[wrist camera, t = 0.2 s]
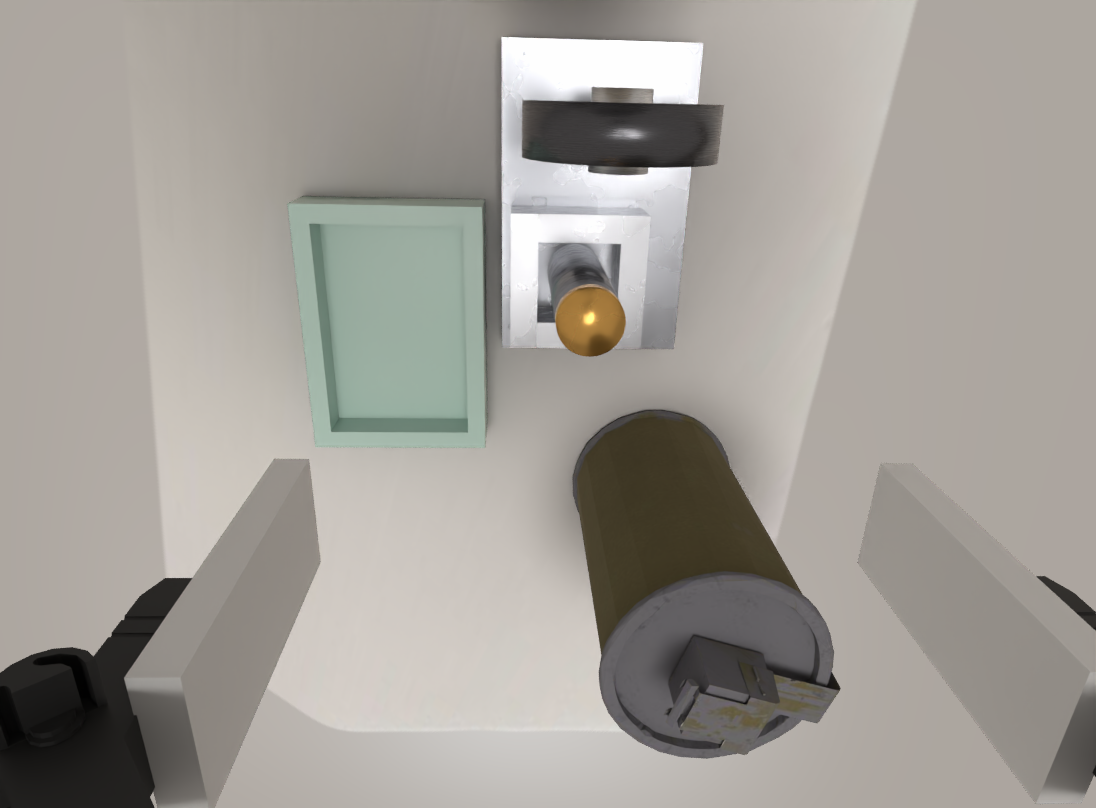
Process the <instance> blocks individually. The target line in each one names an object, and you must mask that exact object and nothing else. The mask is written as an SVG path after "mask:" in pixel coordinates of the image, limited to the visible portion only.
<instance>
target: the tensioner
mask: <svg viewBox="0 0 1096 808" xmlns="http://www.w3.org/2000/svg"><path fill="white" fill-rule="evenodd" d="M702 53H703V43H686V42H652V41H618V40H584V39H551V38H517V37H502V347H510V348H566V347H565V346H564V345H563V343H562V342H561V340H560V339H559V337H558V334H557V330H556V324H555V318H554V312H553V306H552V300H551V294H550V287H549V281H548V275H547V267H548V263H549V260H550V258H551V257H552V255H553V254H554V253H555V252H556V251H557V250H558V249H560V248H561V247H563V246H566V245H569V244H580V245H584V246H586V247H588V248H590V249H591V250H592V251H593V252H594V253H595V254H596V255H597V257H598V259H599V261H600V263H601V265H602V267H603V269H604V271H605V273H606V275H607V277H608V279H609V281H610V283H611V285H612V287H613V289H614V291H615V293H616V295H617V297H618V299H619V301H620V303H621V305H622V307H623V310H624V312H625V317H626V326H625V331H624V334H623V336H622V338H621V340H620V341H619V342H618V344H617V345H616V346H615V347H614V348H612V349H674V340H675V330H676V320H677V309H678V299H679V289H680V279H681V268H682V258H683V248H684V238H685V227H686V217H687V207H688V197H689V187H690V176H691V167H698V166H708V165H714V164H717V162H718V153H719V144H720V135H721V126H722V117H723V108H724V105H703V104H698V94H699V84H700V74H701V64H702Z"/></svg>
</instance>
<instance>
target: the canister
mask: <svg viewBox="0 0 1096 808" xmlns="http://www.w3.org/2000/svg"><path fill="white" fill-rule="evenodd" d="M573 496H574V499H575V503H576V507H577V510H578V512H579V514H580V520H581V527H582V533H583V540H584V546H585V552H586V559H587V565H588V572H589V578H590V584H591V591H592V597H593V604H594V610H595V616H596V623H597V629H598V636H599V642H600V648H601V655H602V656H601V662H600V668H599V683H600V690H601V694H602V699H603V701H604V704H605V706H606V708H607V710H608V713H609V714H610V715H611V717H612V718H613V719H614V720H615V722H616V723H617V724H618V726H619V727H620V728H621V729H622V730H623V731H625V732H626V733H627V734H629V735H630V736H632V737H633V738H634V739H636V740H637V741H638V742H640V743H642V744H644V745H646V746H649V747H651V748H653V749H655V750H657V751H659V752H663V753H667V754H671V755H675V756H679V757H691V758H714V757H720V756H726V755H732V754H737V753H738V754H743V755H745V754H748V752H749V751H751V750H753V749H755V748H757V747H759V746H761V745H764V744H765V743H768V742H769V741H772V740H774V739H776V738H778V737H780V736H781V735H783V734H784V733H786V732H788V731H789V730H791V729H792V728H794V727H795V726H796V725H797V724H798V723H799V722H800V721H801V720H806V721H810V722H814V723H818V722H819V721H820V719H821V718H822V716H823V715H824V713H825V712H826V710H827V709H828V707H829V706H830V704H831V703H832V701H833V700H834V698H835V697H836V695H837V694H838V692H839V691H840V686H839V684H838V683H837V681H836V679H835V677H834V675H833V674H832V672H831V671H832V668H833V657H834V650H833V646H832V641H831V636H830V632H829V630H828V627H827V625H826V622H825V621H824V619H823V618H822V616H821V615H820V613H819V611H818V610H817V608H816V607H815V606H814V605H813V604H812V603H811V602H810V601H809V600H808V599H807V598H806V597H805V596H803V595H802V593H801V591H800V589H799V588H798V586H797V584H796V582H795V581H794V579H793V577H792V575H791V574H790V572H789V570H788V568H787V567H786V565H785V563H784V561H783V560H782V558H781V556H780V554H779V553H778V551H777V549H776V547H775V546H774V544H773V542H772V540H771V539H770V537H769V535H768V533H767V532H766V530H765V528H764V526H763V525H762V523H761V521H760V519H759V518H758V516H757V514H756V512H755V511H754V509H753V507H752V505H751V504H750V502H749V500H748V498H747V497H746V495H745V493H744V491H743V490H742V488H741V486H740V484H739V483H738V481H737V479H736V477H735V476H734V474H733V472H732V470H731V469H730V467H729V462H728V457H727V455H726V453H725V451H724V448H723V446H722V444H721V443H720V441H719V440H718V438H717V437H716V436H715V435H714V434H713V433H712V432H711V431H710V430H709V429H708V428H707V427H706V426H704V425H703V424H701V423H700V422H698V421H697V420H695V419H694V418H691V417H688V416H684V415H679V414H676V413H672V412H668V411H643V412H639V413H636V414H632V415H629V416H625V417H622V418H619V419H617V420H616V421H614V422H613V423H611V424H609V425H608V426H606V427H605V428H603V429H602V430H601V431H600V432H599V433H598V434H597V435H595V436H594V437H593V438H592V439H591V440H590V441H589V442H588V443H587V445H586V447H585V448H584V450H583V452H582V454H581V456H580V458H579V460H578V462H577V464H576V468H575V472H574V476H573Z"/></svg>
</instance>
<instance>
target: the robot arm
mask: <svg viewBox="0 0 1096 808" xmlns="http://www.w3.org/2000/svg"><path fill="white" fill-rule="evenodd" d="M320 562H321V561H320V552H319V543H318V534H317V526H316V517H315V508H314V499H313V490H312V481H311V472H310V463H309V459H274V460H273V462H272V463H271V464H270V466H269V467H268V469H267V470H266V472H265V473H264V475H263V476H262V478H261V479H260V480H259V482H258V483H257V485H256V486H255V488H254V489H253V491H252V492H251V494H250V495H249V497H248V498H247V499H246V501H245V502H244V504H243V505H242V507H241V508H240V510H239V511H238V513H237V514H236V515H235V517H234V518H233V520H232V521H231V523H230V524H229V526H228V527H227V529H226V530H225V531H224V533H223V534H222V536H221V537H220V539H219V540H218V542H217V543H216V545H215V546H214V548H213V549H212V550H211V552H210V553H209V555H208V556H207V558H206V559H205V561H204V562H203V564H202V565H201V566H200V568H199V569H198V571H197V572H196V574H195V575H194V577H193V578H165V579H163V580H162V581H161V582H159V583H158V584H156V585H155V586H153V587H152V588H151V589H149V590H148V591H146V592H145V593H144V594H142V595H141V596H140V597H139V598H138V599H137V601H136V602H135V603H134V605H133V606H132V607H131V608H130V610H129V611H128V612H127V614H126V615H125V619H124V620H121V622H120V623H119V624H118V626H117V627H116V628H115V629H114V631H113V632H112V636H111V637H109V638H107V640H106V641H105V642H104V644H103V645H102V646H101V648H100V649H99V650H98V652H97V653H96V654H95V655H94V657H93V656H92V655H91V654H90V653H89V652H88V651H86V650H81V649H77V648H73V647H71V648H60V649H59V648H58V649H51V650H47V651H44V652H40V653H37V654H33V655H30V656H29V657H26V658H25V659H22V660H20V661H18V662H16V663H14V664H12V665H10V666H9V667H8V668H6V669H5V670H4V671H2V672H1V673H0V808H154V805H153V803H152V801H151V799H150V796H151V794H152V792H154V796H155V800H156V804H157V808H215V806H216V803H217V801H218V799H219V796H220V794H221V792H222V790H223V787H224V785H225V783H226V780H227V778H228V775H229V773H230V771H231V769H232V766H233V764H234V762H235V759H236V757H237V755H238V752H239V750H240V748H241V745H242V743H243V741H244V738H245V736H246V734H247V731H248V729H249V727H250V725H251V722H252V720H253V718H254V715H255V713H256V710H257V708H258V706H259V704H260V701H261V699H262V697H263V694H264V692H265V690H266V687H267V685H268V683H269V681H270V678H271V676H272V674H273V671H274V669H275V667H276V664H277V662H278V660H279V657H280V655H281V653H282V650H283V648H284V646H285V643H286V641H287V639H288V636H289V634H290V632H291V629H292V627H293V625H294V623H295V620H296V618H297V616H298V613H299V611H300V609H301V606H302V604H303V602H304V599H305V597H306V595H307V592H308V590H309V588H310V585H311V583H312V581H313V578H314V576H315V574H316V571H317V569H318V567H319V565H320ZM858 564H859V565H860V566H861V568H862V569H863V571H864V572H865V573H866V575H867V576H868V577H869V578H870V580H871V581H872V583H873V584H874V585H875V587H876V588H877V590H878V591H879V592H880V594H881V595H882V596H883V598H884V599H885V600H886V602H887V603H888V604H889V606H890V607H891V609H892V610H893V611H894V612H895V614H896V615H897V617H898V618H899V619H900V621H901V622H902V623H903V625H904V626H905V627H906V629H907V630H908V632H909V633H910V634H911V636H912V637H913V638H914V640H915V641H916V642H917V644H918V645H919V646H920V648H921V649H922V650H923V652H924V653H925V654H926V656H927V657H928V659H929V660H930V661H931V662H932V664H933V665H934V667H935V668H936V669H937V671H938V672H939V673H940V675H941V676H942V678H943V679H944V680H945V681H946V683H947V684H948V686H949V687H950V688H951V690H952V691H953V692H954V694H955V695H956V696H957V698H958V699H959V701H960V702H961V703H962V704H963V706H964V707H965V709H966V710H967V711H968V713H969V714H970V715H971V717H972V718H973V719H974V721H975V722H976V724H977V725H978V726H979V728H980V729H981V730H982V732H983V733H984V734H985V736H986V737H987V738H988V740H989V741H990V742H991V744H992V745H993V747H994V748H995V749H996V751H997V752H998V753H999V754H1000V756H1001V757H1002V759H1003V760H1004V761H1005V763H1006V764H1007V765H1008V767H1009V768H1010V769H1011V771H1012V772H1013V774H1014V775H1015V776H1016V778H1017V779H1018V780H1019V782H1020V783H1021V784H1022V786H1023V787H1024V789H1025V790H1026V791H1027V793H1028V794H1029V795H1030V797H1031V798H1032V799H1033V801H1034V802H1035V803H1036V804H1062V803H1063V804H1064V803H1082V801H1083V798H1084V796H1085V794H1086V792H1087V789H1088V787H1089V785H1090V782H1091V781H1092V778H1093V776H1094V775H1095V777H1096V612H1095V611H1094V610H1092V608H1091V607H1089V606H1088V605H1087V604H1086V603H1085V602H1084V601H1083V600H1081V599H1080V598H1079V597H1078V596H1077V595H1076V594H1075V593H1073V592H1071V591H1070V590H1068V589H1066V588H1064V587H1063V586H1061V585H1059V584H1057V583H1056V582H1054V581H1052V580H1050V579H1049V578H1047V577H1045V576H1035V575H1034V574H1033V573H1032V572H1030V570H1028V569H1027V568H1026V567H1025V566H1024V565H1023V564H1022V563H1021V562H1020V561H1019V560H1017V559H1016V558H1015V557H1014V556H1013V555H1012V554H1011V553H1010V552H1009V551H1007V549H1005V548H1004V547H1003V546H1002V545H1001V544H1000V543H999V542H998V541H997V540H996V539H995V538H993V537H992V536H991V535H990V534H989V533H988V532H987V531H986V530H985V529H984V528H982V527H981V526H980V525H979V524H978V523H977V522H976V521H975V520H974V519H973V518H972V517H970V516H969V515H968V514H967V513H966V512H965V511H964V510H963V509H961V507H959V506H958V505H957V504H956V503H955V502H954V501H953V500H952V499H951V498H950V497H949V496H947V495H946V494H945V493H944V492H943V491H942V490H941V489H940V488H939V487H937V486H936V485H935V484H934V483H933V482H932V481H931V480H930V479H929V478H928V477H927V476H925V475H924V474H923V473H922V472H921V471H920V470H919V469H918V468H917V467H916V466H915V465H913V464H887V463H886V464H883V463H881V464H880V468H879V473H878V477H877V481H876V485H875V490H874V494H873V499H872V503H871V507H870V511H869V515H868V520H867V524H866V528H865V532H864V537H863V541H862V546H861V550H860V554H859V558H858Z"/></svg>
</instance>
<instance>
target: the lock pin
mask: <svg viewBox="0 0 1096 808" xmlns="http://www.w3.org/2000/svg"><path fill="white" fill-rule="evenodd" d="M547 275H548V281H549V287H550V294H551V300H552V306H553V312H554V318H555V324H556V330H557V334H558V337H559V339H560V340H561V342H562V343H563V345H564V346H565V347H566V348H567V349H569V350H570V351H572V352H573V353H575V354H578V355H581V356H598V355H601V354H604V353H606V352H608V351H610V350H611V349H612V348H614V347H615V346H616V345H617V344H618V342H619V341H620V340H621V338H622V336H623V334H624V331H625V326H626V317H625V312H624V310H623V307H622V305H621V303H620V301H619V299H618V297H617V295H616V293H615V291H614V289H613V287H612V285H611V283H610V281H609V279H608V277H607V275H606V273H605V271H604V269H603V267H602V265H601V263H600V261H599V259H598V257H597V255H596V254H595V253H594V252H593V251H592V250H591V249H590V248H588V247H586V246H584V245H580V244H569V245H566V246H563V247H561V248H560V249H558V250H557V251H556V252H555V253H554V254H553V255H552V257H551V258H550V260H549V263H548V267H547Z"/></svg>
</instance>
